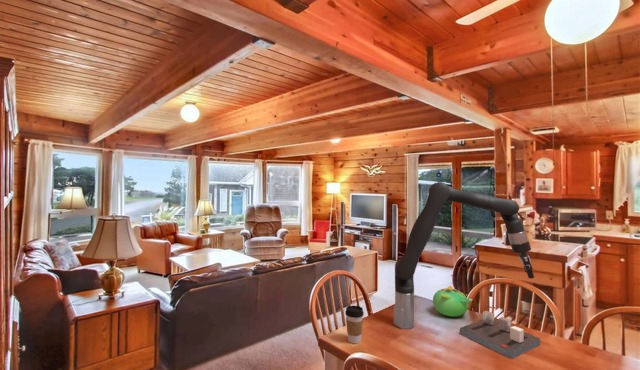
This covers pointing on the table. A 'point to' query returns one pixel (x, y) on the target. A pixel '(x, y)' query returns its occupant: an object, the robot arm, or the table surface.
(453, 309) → the green rounded blob
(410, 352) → the table surface
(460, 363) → the table surface
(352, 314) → the coffee cup
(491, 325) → the switch panel
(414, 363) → the table surface
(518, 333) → the white rectangular block
